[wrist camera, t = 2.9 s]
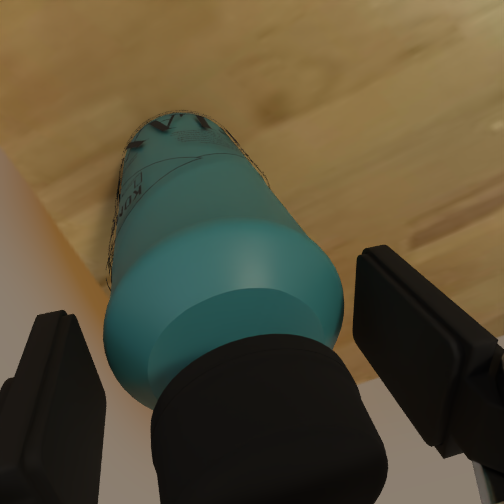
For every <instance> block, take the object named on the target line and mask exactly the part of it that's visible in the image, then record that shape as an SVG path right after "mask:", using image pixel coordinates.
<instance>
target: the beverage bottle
mask: <svg viewBox="0 0 504 504" xmlns="http://www.w3.org/2000/svg"><path fill="white" fill-rule="evenodd" d="M178 111H181V110H178ZM182 111H186V110H182ZM170 112H171V111H170ZM193 112H194V111H193ZM193 112H188V113H179V112H176V113H174V112H172V113H173V114H171V113H170V114H168V113H167V114H168V115H166V114H165V115H164V116H161V117H160V116H158V117H156V119H154V120H152V121H151V122H150V121H149V123H148V122H147V123H148V124H147V123H145V124H146V125H145V124H144V125H145V126H144V125H143V126H144V127H143V128H142V129H140V128H141V127H140V128H139V129H140V130H139V131H138V133H137V134H136V135H135V136H134V138H133V139H132V141H131V143H129V142H128V143H129V144H128V143H127V144H128V146H127V148H126V150H127V152H126V155H125V160H124V158H123V160H124V167H123V176H122V178H120V175H121V174H120V175H119V183H118V189H117V193H116V194H117V198H116V199H117V201H118V194H119V186H120V183H121V182H122V185H121V190H120V191H121V194H119V202H117V206H119V212H118V215H117V217H116V218H117V221H116V225H117V230H116V238H115V241H114V243H113V242H112V244H113V245H114V244H115V247H114V248H111V251H112V249H114V252H112V254H114V255H112V254H111V252H110V250H109V252H110V255H111V256H112V257H113V259H112V260H111V262H112V261H113V264H112V266H111V262H110V256H109V258H108V261H109V262H110V263H109V264H108V262H107V264H108V269H109V266H110V267H112V268H111V283H112V287H111V289H110V287H109V286H108V287H109V289H110V291H111V295H110V300H109V303H108V305H107V310H106V314H105V319H104V328H103V330H104V331H103V342H104V349H105V354H106V357H107V360H108V363H109V366H110V368H111V370H112V371H113V374H114V375H115V377H116V379H117V380H118V382H119V383H120V384H121V386H122V387H123V388H124V389H125V390H126V391H127V392H128V393H129V394H130V395H131V396H132V397H133V398H134V399H136V400H137V401H139V402H140V403H141V404H143V405H144V406H146V407H148V408H150V409H152V410H153V414H152V418H151V450H152V459H153V464H154V467H155V470H156V473H157V477H158V485H159V494H160V502H161V504H374V503H375V501H376V500H377V498H378V497H379V495H380V493H381V491H382V489H383V487H384V484H385V481H386V478H387V472H388V460H387V456H386V451H385V448H384V444H383V442H382V440H381V438H380V436H379V434H378V432H377V430H376V428H375V426H374V424H373V422H372V420H371V418H370V416H369V414H368V412H367V410H366V408H365V406H364V404H363V402H362V400H361V396H360V393H359V390H358V387H357V385H356V383H355V381H354V379H353V377H352V376H351V374H350V372H349V371H348V369H347V368H346V366H345V364H344V363H343V361H342V360H341V359H340V357H339V356H338V355H337V354H336V353H335V352H334V351H333V350H332V349H333V347H334V345H335V343H336V341H337V338H338V336H339V333H340V330H341V327H342V322H343V316H344V296H343V288H342V285H341V281H340V278H339V275H338V273H337V271H336V268H335V267H334V265H333V264H332V262H331V260H330V259H329V257H328V256H327V255H326V254H325V253H324V252H323V250H322V249H321V248H320V247H319V246H318V245H317V244H316V243H315V242H314V241H312V240H311V239H310V238H309V237H308V236H307V235H306V234H305V232H304V231H303V230H302V229H301V227H300V226H299V225H298V224H297V222H296V221H295V220H294V219H293V217H292V216H291V215H290V214H289V212H288V211H287V210H286V209H285V207H284V206H283V205H282V204H281V202H280V201H279V200H278V199H277V197H276V196H275V195H274V194H273V192H272V191H271V190H270V187H268V186H267V185H266V183H265V182H264V180H263V178H262V177H261V176H262V175H261V176H260V174H259V173H258V172H257V171H256V170H255V168H254V167H253V166H252V164H251V163H250V162H249V161H250V160H251V159H250V160H247V159H246V157H245V156H244V154H242V152H241V150H242V151H243V149H242V148H241V147H240V146H239V145H238V146H239V147H240V148H241V149H240V150H239V149H238V147H237V146H236V145H235V144H234V143H233V141H232V140H231V139H232V138H233V137H232V135H231V134H230V133H229V132H228V131H227V130H226V129H225V128H224V129H225V130H226V131H227V132H228V133H229V135H230V136H231V137H232V138H231V139H230V138H229V136H228V135H227V134H226V133H225V132H226V131H225V132H224V131H223V129H222V128H221V127H219V126H218V125H217V124H215V123H214V122H212V121H211V120H209V119H207V118H205V117H202V116H203V115H202V116H199V115H196V114H198V113H194V114H190V113H193ZM165 113H166V112H165ZM162 114H163V113H162ZM159 115H160V114H159ZM156 116H157V115H156ZM206 117H207V115H206ZM208 117H209V116H208ZM147 121H148V120H147ZM137 129H138V128H137ZM137 129H136V130H137ZM136 132H137V131H136ZM136 132H135V133H136ZM132 135H133V134H132ZM132 135H131V136H132ZM131 138H132V137H131ZM233 139H234V138H233ZM128 141H130V140H128ZM234 141H235V142H237V141H236V140H235V139H234ZM237 143H238V142H237ZM124 149H125V148H124ZM123 153H124V152H123ZM243 153H244V152H243ZM122 155H123V154H122ZM245 155H247V154H246V153H245ZM251 162H253V161H252V160H251ZM122 163H123V162H122ZM121 165H122V164H121ZM255 166H256V164H255ZM256 167H257V166H256ZM121 168H122V166H121ZM121 168H120V169H121ZM257 168H258V167H257ZM262 172H263V171H262ZM262 172H261V173H262ZM119 173H120V172H119ZM262 174H263V173H262ZM263 175H264V174H263ZM120 179H122V181H121V180H120ZM266 179H267V178H266ZM120 181H121V182H120ZM267 181H268V180H267ZM268 184H269V183H268ZM118 203H119V205H118ZM115 204H116V201H115ZM115 207H116V205H115ZM116 209H117V210H118V208H116ZM116 209H115V210H116ZM115 213H116V214H117V212H116V211H115ZM114 215H115V214H114ZM115 216H116V215H115ZM113 218H115V217H113ZM115 220H116V219H115ZM115 220H113V222H114V221H115ZM113 222H112V223H113ZM113 224H114V225H113V226H114V228H115V222H114V223H113ZM113 226H112V227H113ZM114 228H112V229H111V230H112V232H113V234H112V235H114V230H113V229H114ZM112 235H111V237H112ZM111 237H110V240H111ZM110 244H111V242H110ZM110 244H109V247H110ZM111 247H113V246H112V245H111ZM108 255H109V253H108ZM106 268H107V267H106ZM109 276H110V270H109ZM106 281H107V279H106ZM107 284H108V283H107Z"/></svg>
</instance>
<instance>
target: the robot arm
mask: <svg viewBox="0 0 504 504" xmlns="http://www.w3.org/2000/svg"><path fill="white" fill-rule="evenodd" d="M353 337H354V340H355V343H356V344H357V346H358V347H359V349H360V350H361V351H362V353H363V354H364V356H365V357H366V359H367V360H368V361H369V363H370V364H371V366H372V367H373V369H374V370H375V371H376V373H377V374H378V376H379V377H380V379H381V380H382V381H383V382H384V384H385V386H386V387H387V389H388V390H389V391H390V393H391V394H392V396H393V397H394V398H395V400H396V401H397V403H398V404H399V406H400V407H401V408H402V410H403V411H404V413H405V414H406V416H407V417H408V418H409V420H410V421H411V423H412V424H413V426H414V427H415V428H416V430H417V431H418V433H419V434H420V435H421V437H422V438H423V440H424V441H425V442H426V444H428V445H429V446H431V447H432V446H435V448H436V449H437V450H438V452H439V453H440V454H441V456H442V457H443V458H444V459H445V458H448V457H451V456H454V455H457V454H461V453H464V454H465V455H466V456H467V458H468V459H469V460H471V461H472V463H473V468H474V472H475V476H476V480H477V485H478V489H479V494H480V498H481V502H482V504H504V349H503V348H502V347H501V346H499V345H498V344H497V342H498V339H496V338H495V337H494V336H493V335H492V334H491V333H489V332H488V331H487V330H486V329H485V328H484V327H482V326H481V325H480V324H479V323H478V322H476V321H475V320H474V319H473V318H472V317H471V316H469V315H468V314H467V313H466V312H465V311H464V310H462V309H461V308H460V307H459V306H458V305H456V304H455V303H454V302H453V301H452V300H451V299H449V298H448V297H447V296H446V295H445V294H444V293H442V292H441V291H440V290H439V289H438V288H437V287H435V286H434V285H433V284H432V283H431V282H429V281H428V280H427V279H426V278H425V277H424V276H422V275H421V274H420V273H419V272H418V271H417V270H415V269H414V268H413V267H412V266H411V265H409V264H408V263H407V262H406V261H405V260H404V259H402V258H401V257H400V256H399V255H398V254H397V253H395V252H394V251H393V250H392V249H391V248H390V247H388V246H387V245H380V246H375V247H370V248H365V249H364V250H363V252H362V255H359V256H358V257H357V264H356V280H355V297H354V314H353ZM105 415H106V396H105V391H104V389H103V386H102V383H101V381H100V378H99V375H98V373H97V370H96V368H95V365H94V362H93V360H92V357H91V354H90V352H89V349H88V347H87V344H86V341H85V339H84V336H83V333H82V331H81V328H80V326H79V323H78V320H77V318H76V316H75V315H74V314H70V315H67V313H66V312H65V311H64V310H60V311H55V312H50V313H45V314H40V315H37V317H36V319H35V322H34V324H33V327H32V330H31V332H30V335H29V338H28V341H27V343H26V346H25V349H24V352H23V354H22V357H21V360H20V363H19V365H18V368H17V371H16V373H15V377H13V378H9V379H7V380H6V381H5V382H4V384H3V386H2V388H1V390H0V504H98V495H99V483H100V472H101V460H102V449H103V437H104V426H105Z"/></svg>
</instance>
